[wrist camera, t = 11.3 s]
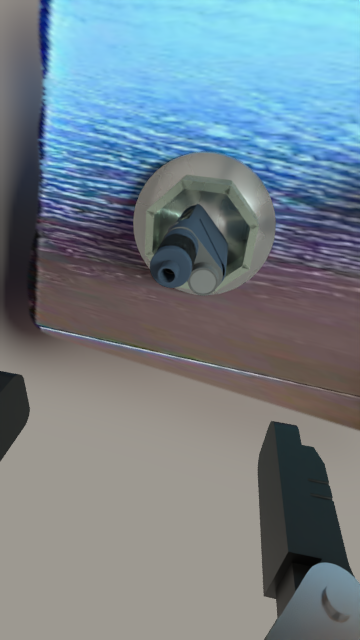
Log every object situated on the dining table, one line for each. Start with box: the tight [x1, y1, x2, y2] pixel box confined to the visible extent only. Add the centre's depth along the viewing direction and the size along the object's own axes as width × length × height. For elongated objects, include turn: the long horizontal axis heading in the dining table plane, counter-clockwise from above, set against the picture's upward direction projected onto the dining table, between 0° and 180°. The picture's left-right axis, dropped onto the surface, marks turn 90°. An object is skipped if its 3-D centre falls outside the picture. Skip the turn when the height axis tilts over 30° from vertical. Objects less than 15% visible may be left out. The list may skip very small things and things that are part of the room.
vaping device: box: [150, 204, 228, 296], centre depth 23 cm, size 3×5×12 cm, turn 39°
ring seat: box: [133, 151, 276, 295], centre depth 28 cm, size 12×12×4 cm
